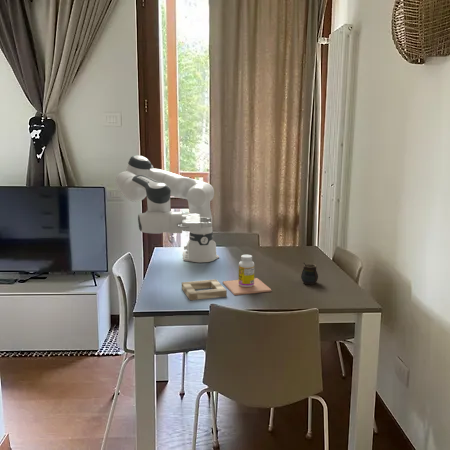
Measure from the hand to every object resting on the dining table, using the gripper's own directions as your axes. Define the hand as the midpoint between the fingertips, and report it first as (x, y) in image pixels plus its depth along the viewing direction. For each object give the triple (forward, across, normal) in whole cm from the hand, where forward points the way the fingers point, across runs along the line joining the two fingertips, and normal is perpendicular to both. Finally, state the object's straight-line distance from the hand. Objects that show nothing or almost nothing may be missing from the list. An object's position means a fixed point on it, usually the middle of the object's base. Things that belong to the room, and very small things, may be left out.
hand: (211, 222), depth 193 cm
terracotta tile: (+15, 0, +28) cm, 32 cm away
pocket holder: (-4, -6, +28) cm, 29 cm away
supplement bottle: (+15, 0, +27) cm, 31 cm away
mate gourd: (+43, +4, +28) cm, 51 cm away
